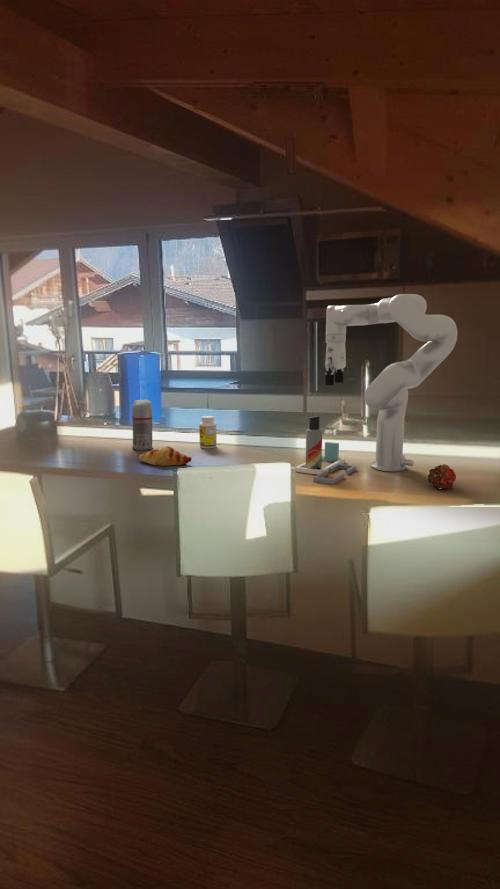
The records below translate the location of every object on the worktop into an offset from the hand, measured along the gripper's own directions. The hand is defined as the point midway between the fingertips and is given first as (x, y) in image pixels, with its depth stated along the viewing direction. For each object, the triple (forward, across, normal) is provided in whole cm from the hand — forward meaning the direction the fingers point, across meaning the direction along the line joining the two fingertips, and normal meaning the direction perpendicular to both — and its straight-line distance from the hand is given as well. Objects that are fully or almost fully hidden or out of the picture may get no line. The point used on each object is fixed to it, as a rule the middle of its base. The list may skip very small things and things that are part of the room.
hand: (334, 383), depth 258 cm
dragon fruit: (+29, -26, -48) cm, 62 cm away
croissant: (+29, -42, +50) cm, 71 cm away
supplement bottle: (+28, -10, +51) cm, 59 cm away
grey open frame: (+28, -28, -12) cm, 42 cm away
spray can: (+28, -25, +73) cm, 82 cm away
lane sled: (+28, -19, -3) cm, 34 cm away
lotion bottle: (+28, -26, -3) cm, 39 cm away
